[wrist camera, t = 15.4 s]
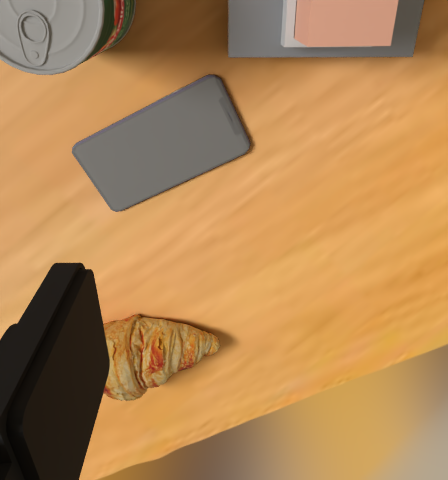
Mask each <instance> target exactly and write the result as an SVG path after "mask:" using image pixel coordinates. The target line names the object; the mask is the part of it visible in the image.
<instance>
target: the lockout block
mask: <svg viewBox="0 0 448 480" xmlns="http://www.w3.org/2000/svg"><path fill="white" fill-rule="evenodd" d="M397 6H398V0H297V7H296V21H295V36H294V39H296V40H297V41H299V42H300V43H302V44H304V45H305V46H307V47H337V46H391V41H392V35H393V29H394V23H395V18H396V12H397Z"/></svg>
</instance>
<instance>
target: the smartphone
mask: <svg viewBox="0 0 448 480" xmlns="http://www.w3.org/2000/svg"><path fill="white" fill-rule="evenodd" d="M249 147H250V141H249V138H248V136H247V134H246V132H245V130H244V128H243V125H242V123H241V121H240V119H239V117H238V115H237V112H236V110H235V108H234V106H233V104H232V102H231V100H230V97H229V95H228V93H227V91H226V89H225V87H224V84H223V82H222V80H221V79H220V78H219V77H217V76H215V75H207V76H205V77H203V78H201V79H199V80H197V81H195V82H193V83H191V84H189V85H187V86H185V87H183V88H181V89H179V90H177V91H175V92H173V93H171V94H170V95H167V96H165V97H163V98H161V99H159V100H157V101H156V102H154V103H152V104H151V105H149V106H147V107H145V108H143V109H141V110H139V111H137V112H135V113H133V114H131V115H129V116H127V117H125V118H124V119H122V120H120V121H118V122H116V123H114V124H112V125H110V126H108V127H106V128H104V129H102V130H100V131H98V132H97V133H95V134H93V135H91V136H89V137H87V138H85V139H83V140H81V141H79V142H77V143H76V144H75V145H74V146H73V148H72V154H73V155H74V156H75V158H76V159H77V161H78V162H79V164H80V165H81V167H82V168H83V169H84V171H85V172H86V174H87V175H88V177H89V178H90V180H91V181H92V183H93V184H94V185H95V187H96V188H97V190H98V191H99V193H100V194H101V196H102V197H103V198H104V200H105V201H106V203H107V204H108V206H109V207H110V209H111V210H113V211H116V212H118V211H122V210H124V209H126V208H129V207H131V206H133V205H135V204H137V203H140V202H142V201H144V200H146V199H148V198H150V197H153V196H155V195H157V194H159V193H161V192H163V191H166V190H168V189H170V188H172V187H174V186H176V185H179V184H181V183H183V182H185V181H187V180H189V179H192V178H194V177H196V176H198V175H200V174H203V173H205V172H207V171H209V170H211V169H213V168H215V167H218V166H220V165H222V164H224V163H226V162H228V161H231V160H233V159H235V158H237V157H239V156H242V155H244V154H245V153H246V152H247V151H248V150H249Z"/></svg>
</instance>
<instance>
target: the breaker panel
mask: <svg viewBox="0 0 448 480" xmlns="http://www.w3.org/2000/svg"><path fill="white" fill-rule="evenodd" d="M423 4H424V0H398V6H397V12H396V18H395V23H394V29H393V35H392V41H391V46H337V47H307V46H305V45H304V44H302V43H300V42H299V41H297V40H296V39H294V36H295V21H296V7H297V0H228V57H413V53H414V48H415V43H416V38H417V33H418V28H419V24H420V19H421V14H422V9H423Z"/></svg>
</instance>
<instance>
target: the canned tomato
mask: <svg viewBox="0 0 448 480" xmlns="http://www.w3.org/2000/svg"><path fill="white" fill-rule="evenodd" d="M135 8H136V0H0V59H1V60H2V61H4V62H5V63H7V64H9V65H10V66H12V67H14V68H17V69H19V70H22V71H24V72H28V73H33V74H37V75H53V74H59V73H64V72H66V71H68V70H71V69H73V68H75V67H77V66H78V65H79V64H81V63H83V62H85V61H87V60H88V59H90V58H92V57H94V56H96V55H97V54H99V53H101V52H103V51H105V50H106V49H108V48H111V47H113V46H114V45H116V44H117V43H118V42H120V41H121V40H122V39H123V37H124V36H125V35H126V34H127V32H128V30H129V29H130V27H131V25H132V22H133V19H134V15H135Z"/></svg>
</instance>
